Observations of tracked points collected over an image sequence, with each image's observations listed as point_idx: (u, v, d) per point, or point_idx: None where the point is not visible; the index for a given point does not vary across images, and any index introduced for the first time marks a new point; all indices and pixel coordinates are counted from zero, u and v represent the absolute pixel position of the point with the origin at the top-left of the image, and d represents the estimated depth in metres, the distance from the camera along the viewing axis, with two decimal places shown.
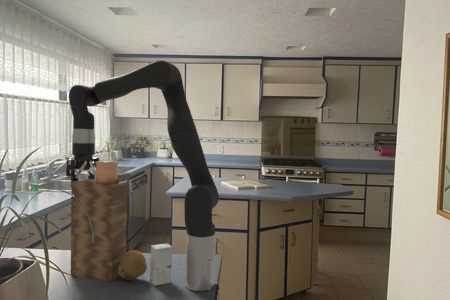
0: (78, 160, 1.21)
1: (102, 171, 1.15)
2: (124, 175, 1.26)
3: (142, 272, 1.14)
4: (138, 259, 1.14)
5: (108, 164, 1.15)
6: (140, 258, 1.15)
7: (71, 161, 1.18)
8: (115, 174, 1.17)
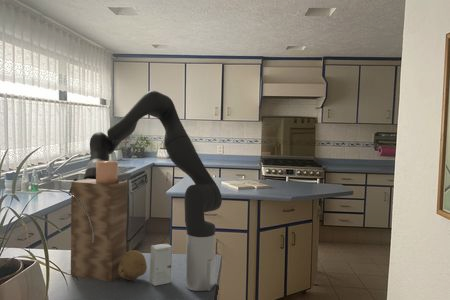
0: None
1: (102, 171, 1.15)
2: (124, 175, 1.26)
3: (142, 272, 1.14)
4: (138, 259, 1.14)
5: (108, 164, 1.15)
6: (140, 258, 1.15)
7: None
8: (115, 174, 1.17)
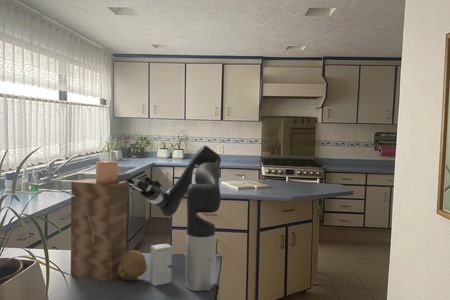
0: None
1: (102, 171, 1.15)
2: (124, 175, 1.26)
3: (142, 272, 1.14)
4: (138, 259, 1.14)
5: (108, 164, 1.15)
6: (140, 258, 1.15)
7: None
8: (115, 174, 1.17)
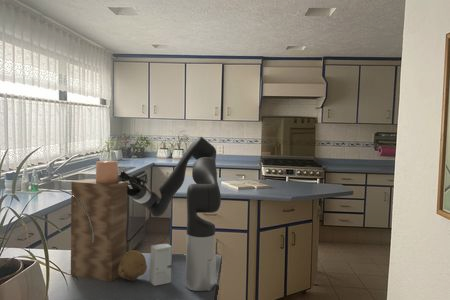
0: None
1: (102, 171, 1.15)
2: None
3: (142, 272, 1.14)
4: (138, 259, 1.14)
5: (108, 164, 1.15)
6: (140, 258, 1.15)
7: None
8: (115, 174, 1.17)
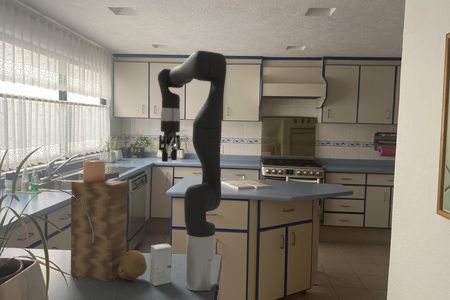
0: None
1: (89, 170, 1.17)
2: (112, 174, 1.28)
3: (142, 272, 1.14)
4: (138, 259, 1.14)
5: (95, 163, 1.17)
6: (140, 258, 1.15)
7: None
8: (102, 173, 1.19)
